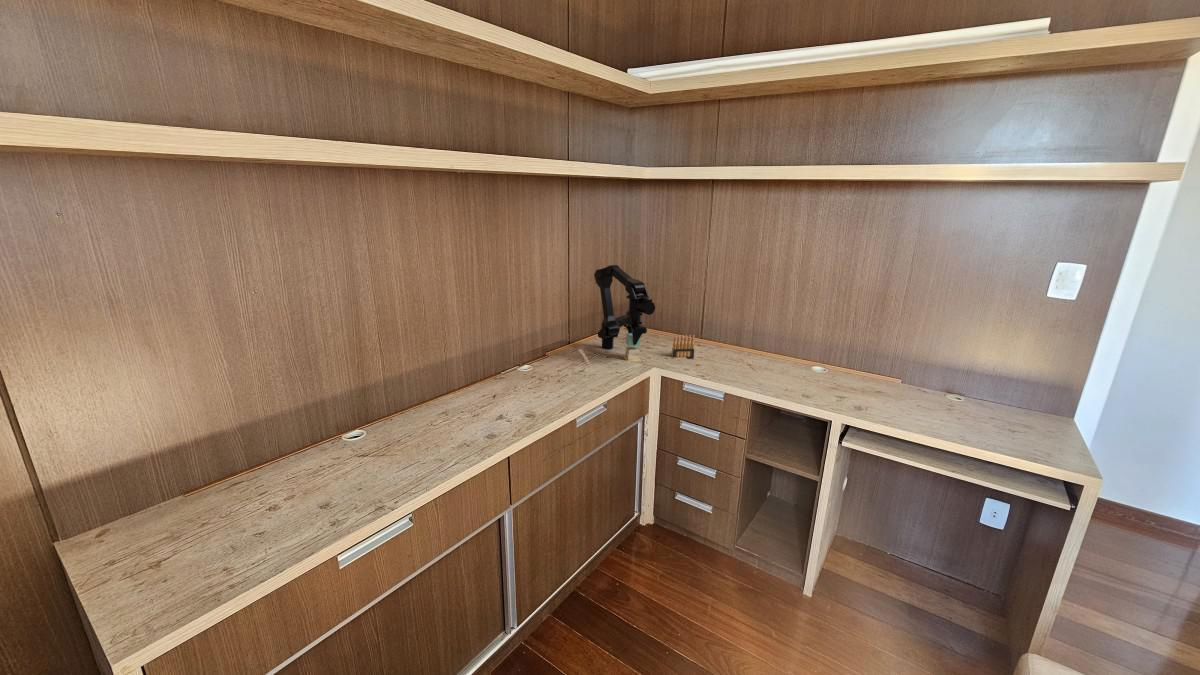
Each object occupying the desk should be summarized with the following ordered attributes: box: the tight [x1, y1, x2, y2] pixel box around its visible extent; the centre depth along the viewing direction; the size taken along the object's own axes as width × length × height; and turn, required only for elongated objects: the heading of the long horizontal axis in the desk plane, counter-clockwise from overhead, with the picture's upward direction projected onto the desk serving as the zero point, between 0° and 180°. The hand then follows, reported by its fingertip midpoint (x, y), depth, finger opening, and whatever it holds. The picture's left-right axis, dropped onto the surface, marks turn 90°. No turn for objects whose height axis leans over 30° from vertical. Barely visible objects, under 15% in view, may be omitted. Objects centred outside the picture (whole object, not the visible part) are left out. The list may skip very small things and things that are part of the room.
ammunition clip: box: [670, 334, 695, 360], centre depth 234 cm, size 11×2×12 cm, turn 101°
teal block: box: [625, 332, 641, 348], centre depth 227 cm, size 5×5×5 cm
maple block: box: [624, 346, 640, 362], centre depth 229 cm, size 5×5×5 cm
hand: (632, 343), depth 227 cm, fingers closed on teal block, 5 cm apart
